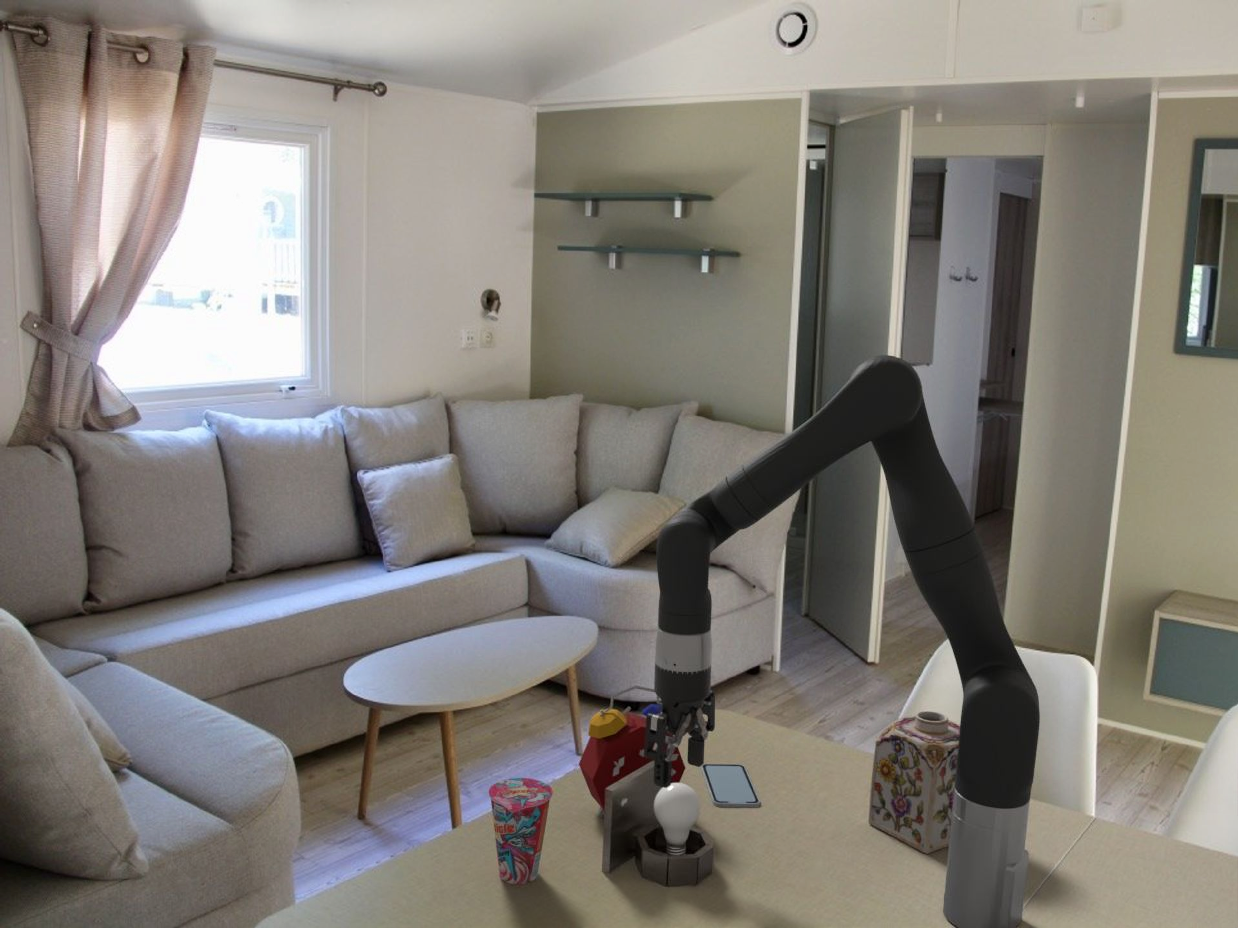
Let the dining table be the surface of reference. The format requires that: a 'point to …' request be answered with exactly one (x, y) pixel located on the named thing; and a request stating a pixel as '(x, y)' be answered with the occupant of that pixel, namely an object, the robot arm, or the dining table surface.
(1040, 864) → the dining table surface
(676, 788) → the lightbulb
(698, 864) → the bracket
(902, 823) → the decorative jar
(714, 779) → the smartphone
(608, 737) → the alarm clock
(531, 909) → the dining table surface
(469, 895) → the dining table surface
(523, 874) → the cup
